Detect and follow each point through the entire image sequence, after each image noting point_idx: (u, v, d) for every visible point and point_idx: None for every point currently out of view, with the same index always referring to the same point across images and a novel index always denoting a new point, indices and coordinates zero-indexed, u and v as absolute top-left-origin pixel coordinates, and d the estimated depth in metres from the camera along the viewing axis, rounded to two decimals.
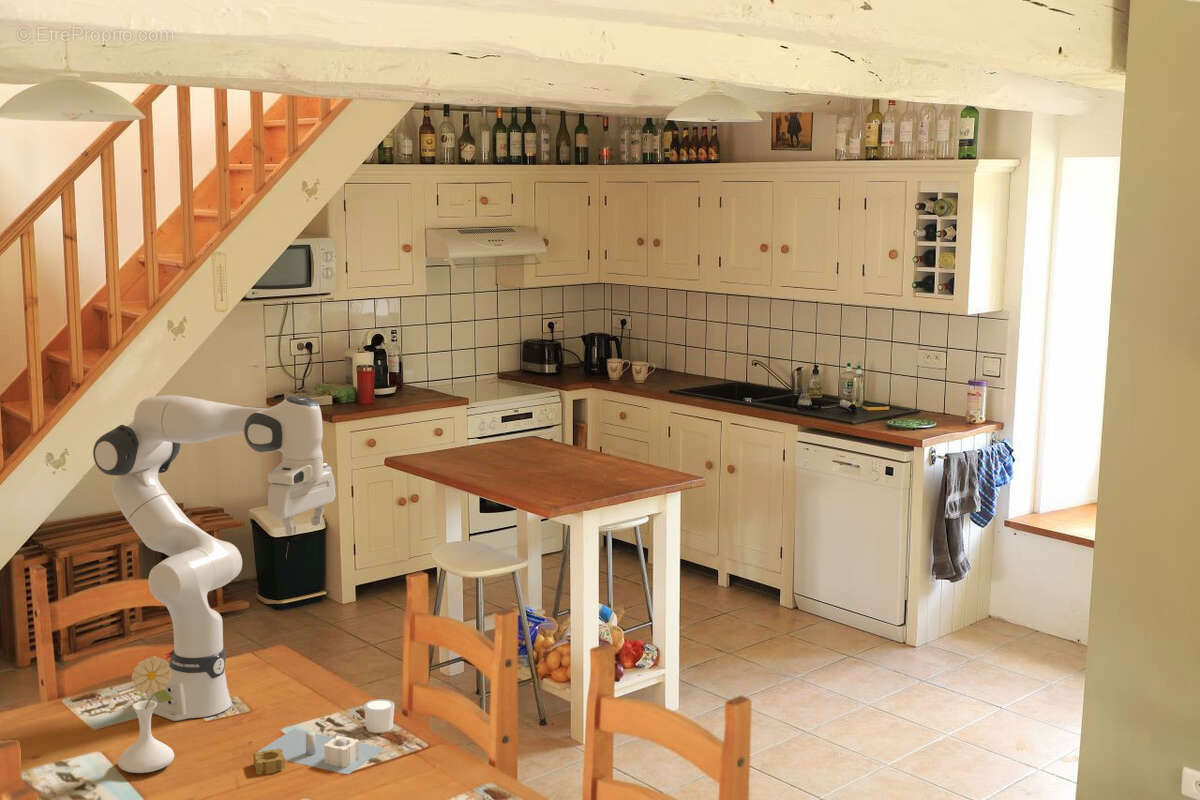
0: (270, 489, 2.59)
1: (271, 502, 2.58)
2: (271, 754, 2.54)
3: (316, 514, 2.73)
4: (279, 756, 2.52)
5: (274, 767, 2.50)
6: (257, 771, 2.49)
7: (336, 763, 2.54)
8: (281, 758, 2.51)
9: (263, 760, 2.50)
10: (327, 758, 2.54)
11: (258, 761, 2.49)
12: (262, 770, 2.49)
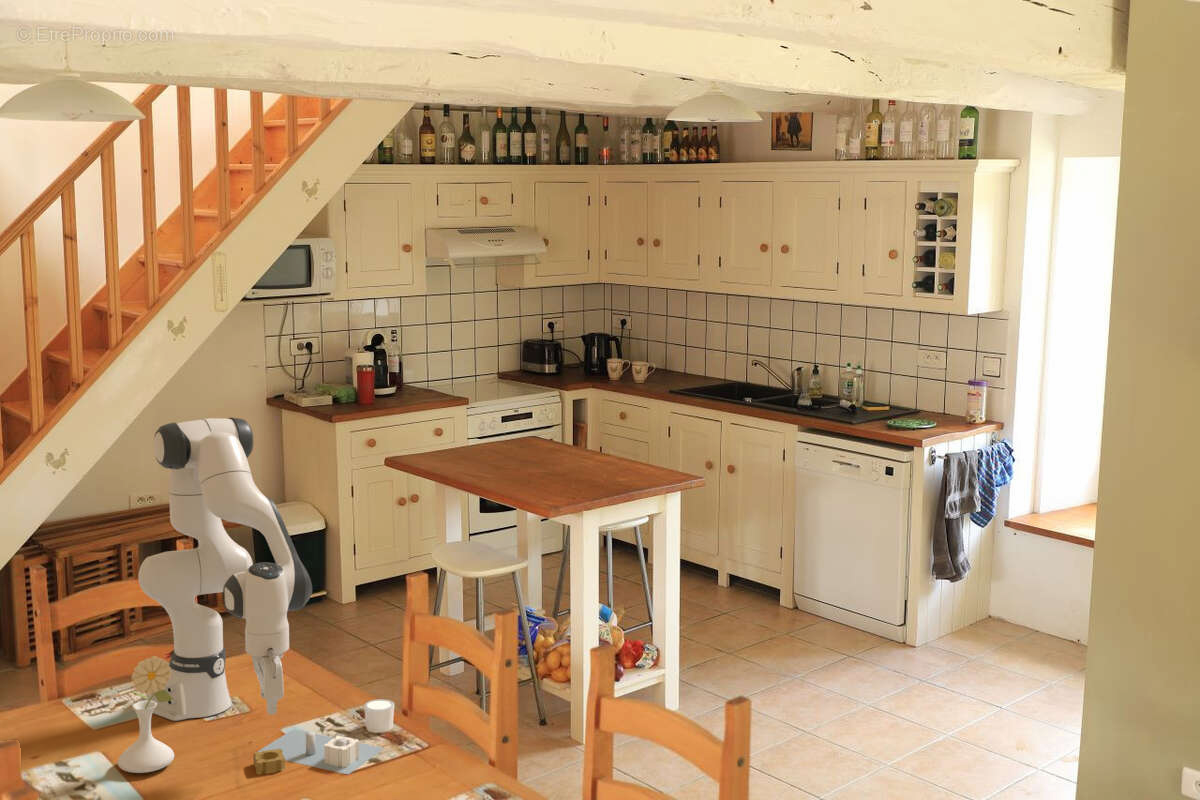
0: None
1: None
2: (271, 754, 2.54)
3: None
4: (279, 756, 2.52)
5: (274, 767, 2.50)
6: (257, 771, 2.49)
7: (336, 763, 2.54)
8: (281, 758, 2.51)
9: (263, 760, 2.50)
10: (327, 758, 2.54)
11: (258, 761, 2.49)
12: (262, 770, 2.49)
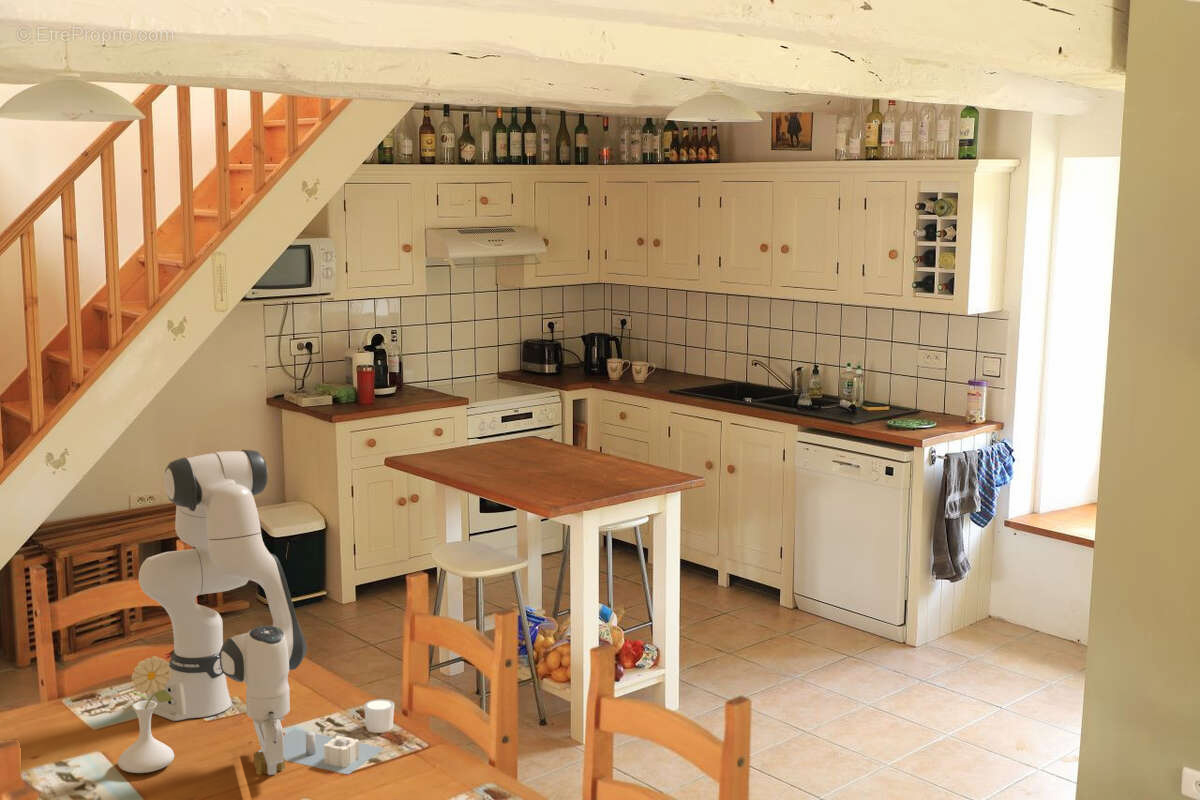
0: None
1: None
2: None
3: None
4: None
5: None
6: (257, 771, 2.49)
7: (336, 763, 2.54)
8: None
9: (263, 760, 2.50)
10: (327, 758, 2.54)
11: (258, 761, 2.49)
12: (262, 770, 2.49)
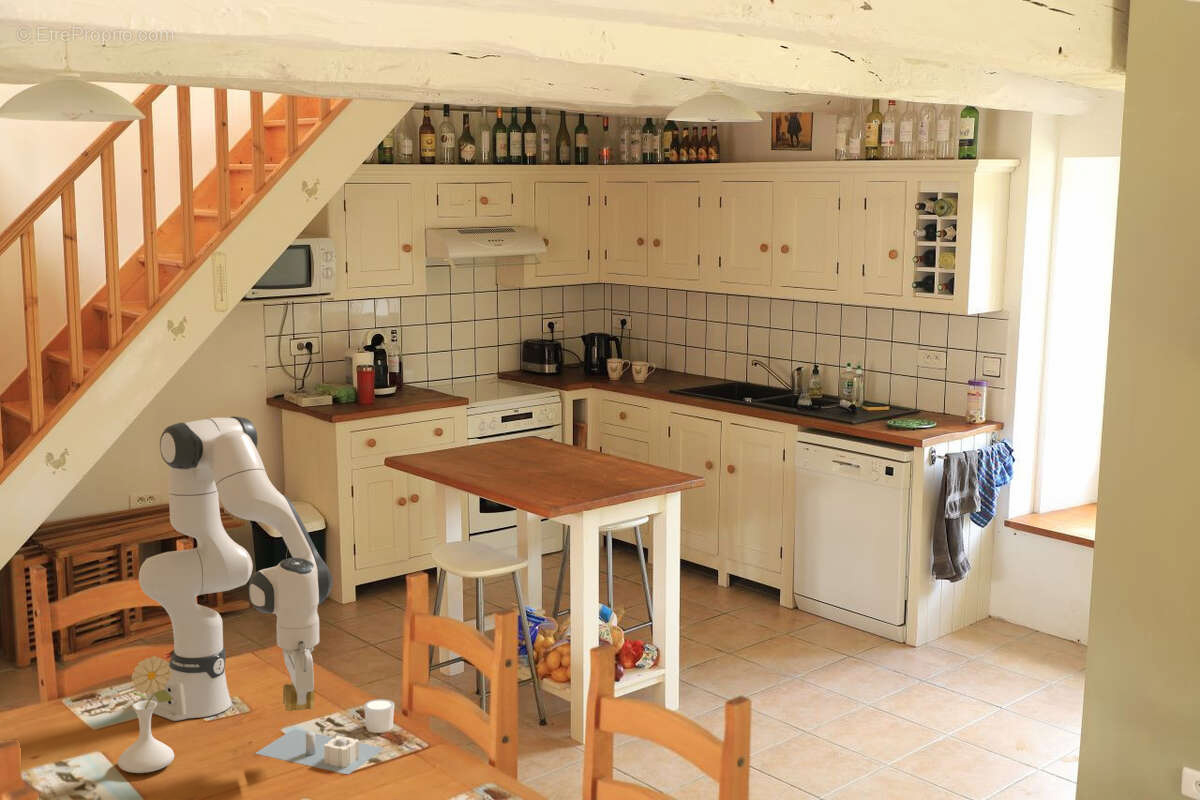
0: None
1: None
2: None
3: None
4: None
5: None
6: (287, 701, 2.52)
7: (336, 763, 2.54)
8: None
9: (293, 690, 2.53)
10: (327, 758, 2.54)
11: (288, 691, 2.53)
12: (292, 700, 2.52)
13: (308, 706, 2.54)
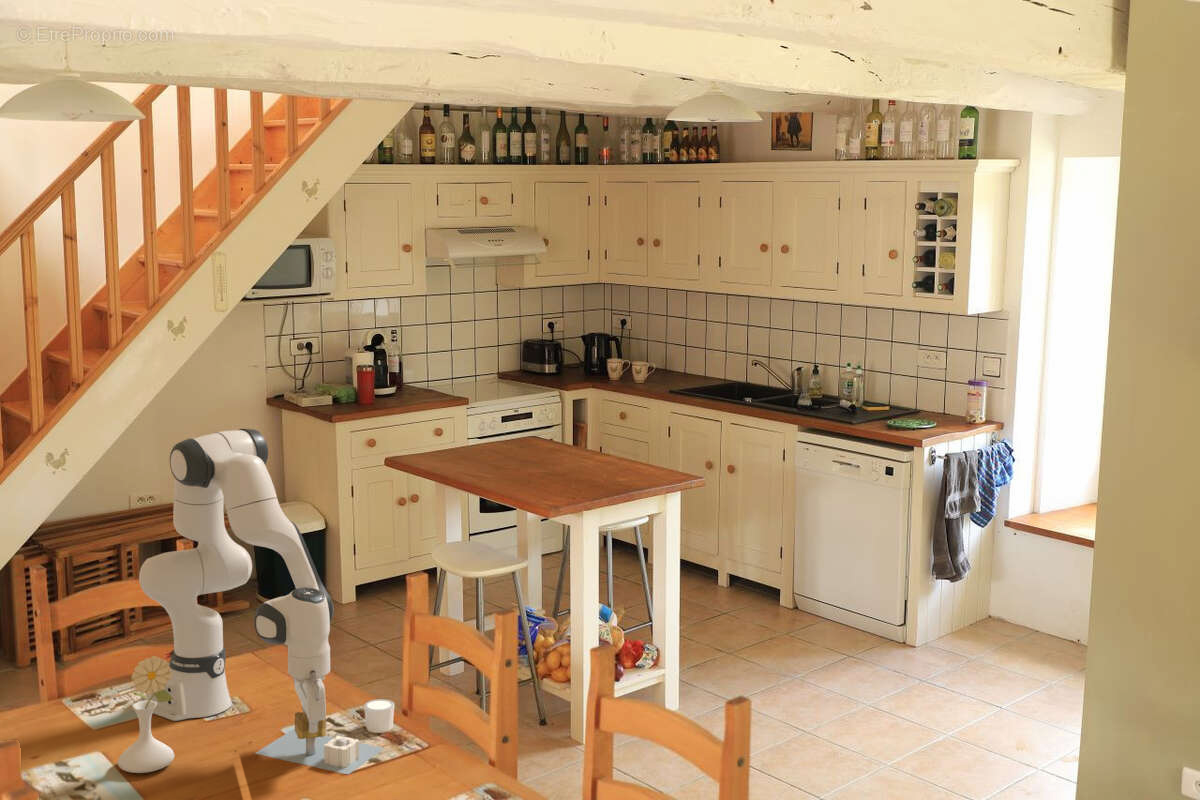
0: None
1: None
2: None
3: None
4: None
5: None
6: (299, 729, 2.55)
7: (336, 763, 2.54)
8: None
9: (305, 719, 2.56)
10: (327, 758, 2.54)
11: (300, 719, 2.55)
12: (303, 728, 2.55)
13: (320, 734, 2.57)
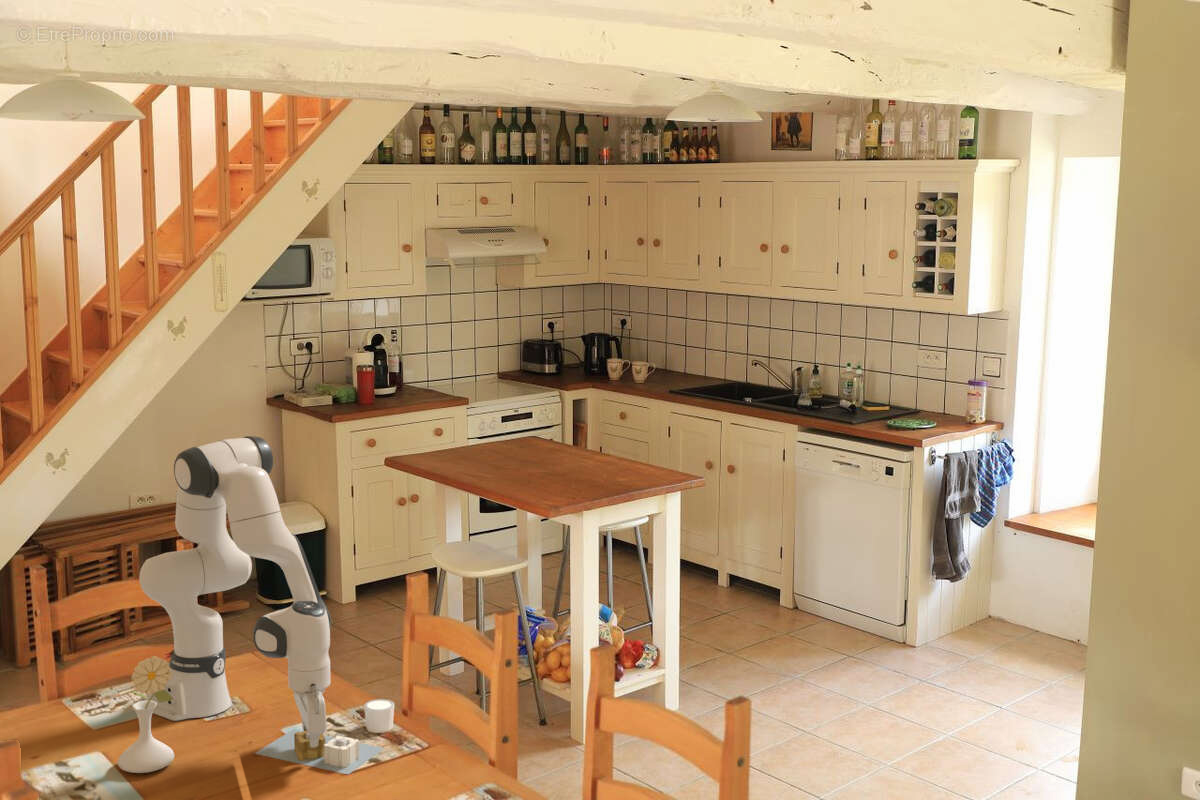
0: None
1: None
2: None
3: None
4: (319, 736, 2.59)
5: (315, 747, 2.57)
6: (298, 751, 2.56)
7: (336, 763, 2.54)
8: (321, 738, 2.58)
9: (304, 740, 2.57)
10: (327, 758, 2.54)
11: (299, 741, 2.56)
12: (303, 750, 2.56)
13: (320, 754, 2.58)
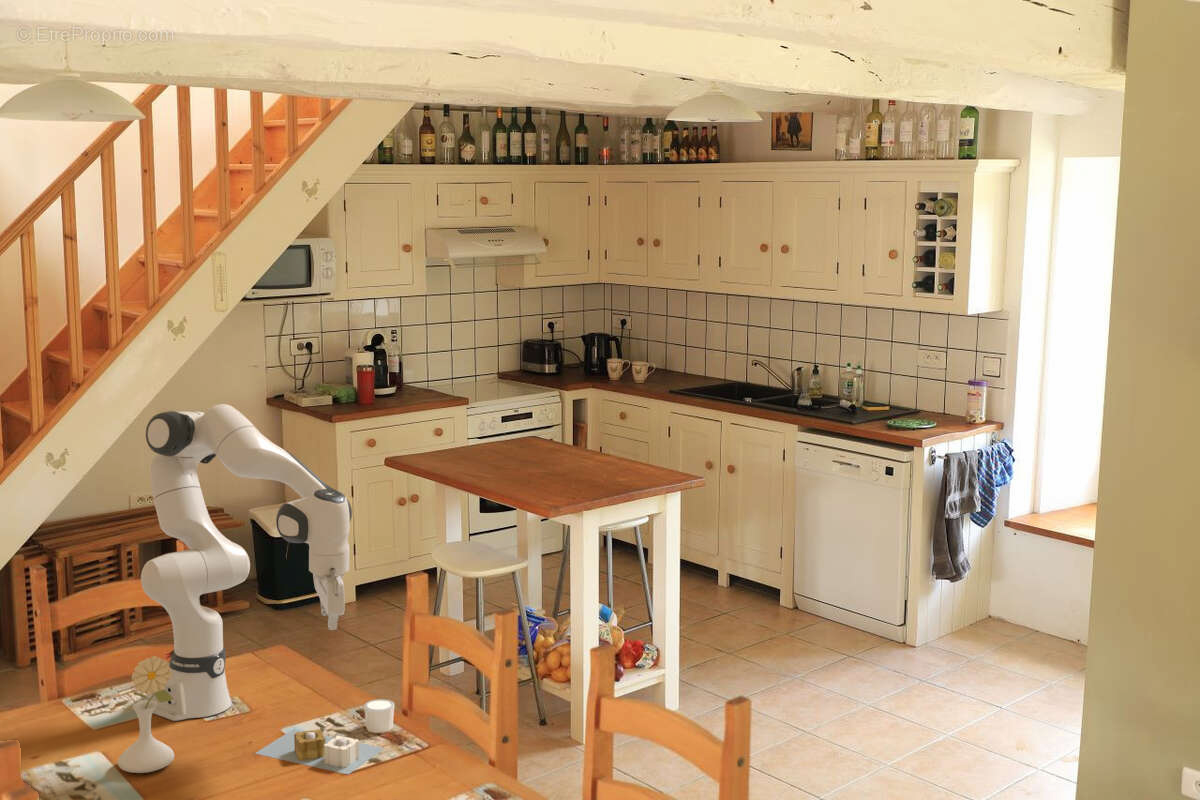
0: None
1: None
2: None
3: None
4: (319, 736, 2.59)
5: (315, 747, 2.57)
6: (298, 751, 2.56)
7: (336, 763, 2.54)
8: (321, 738, 2.58)
9: (304, 740, 2.57)
10: (327, 758, 2.54)
11: (299, 741, 2.56)
12: (303, 750, 2.56)
13: (320, 754, 2.58)
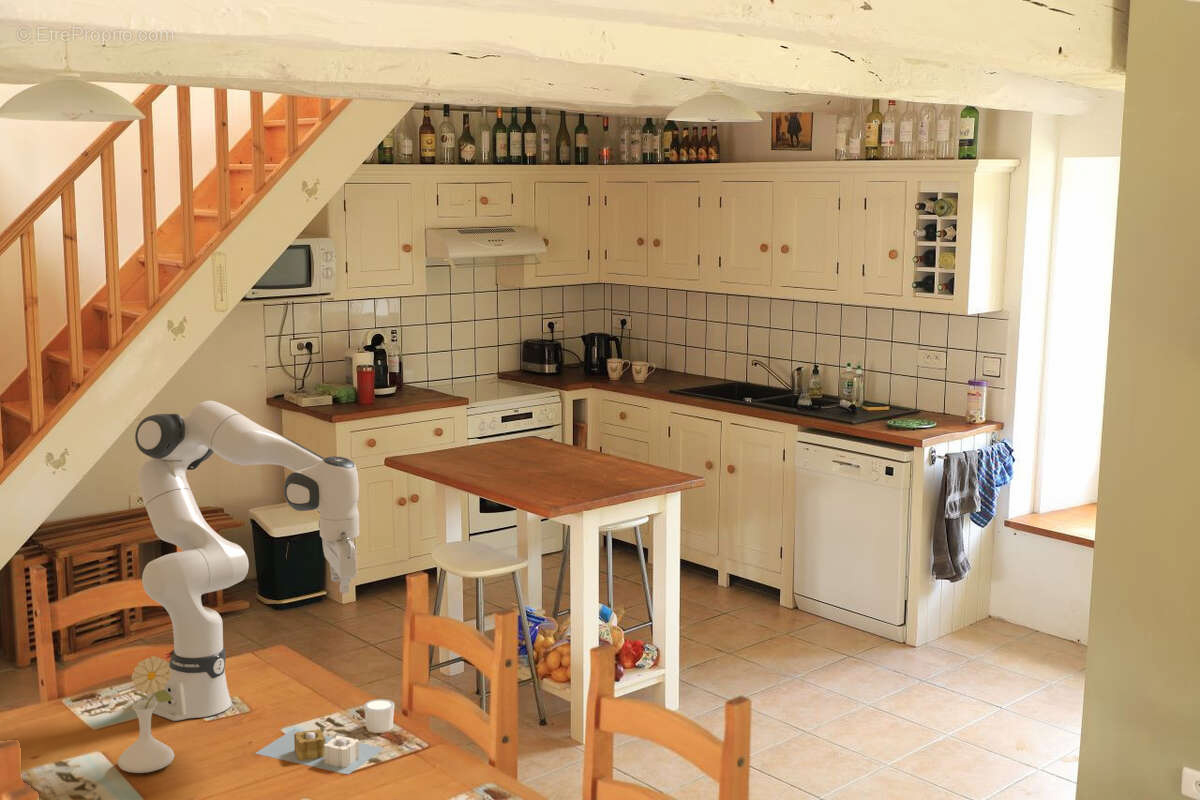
0: None
1: None
2: None
3: None
4: (319, 736, 2.59)
5: (315, 747, 2.57)
6: (298, 751, 2.56)
7: (336, 763, 2.54)
8: (321, 738, 2.58)
9: (304, 740, 2.57)
10: (327, 758, 2.54)
11: (299, 741, 2.56)
12: (303, 750, 2.56)
13: (320, 754, 2.58)
